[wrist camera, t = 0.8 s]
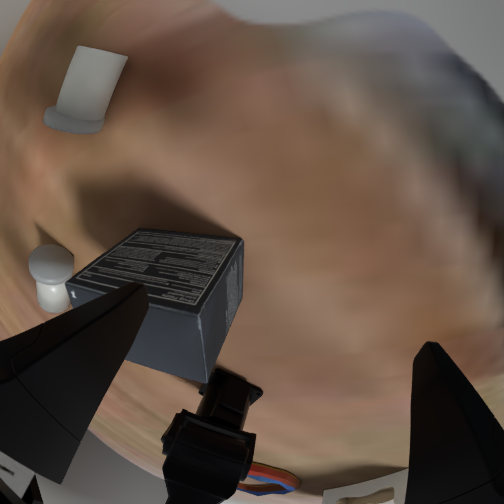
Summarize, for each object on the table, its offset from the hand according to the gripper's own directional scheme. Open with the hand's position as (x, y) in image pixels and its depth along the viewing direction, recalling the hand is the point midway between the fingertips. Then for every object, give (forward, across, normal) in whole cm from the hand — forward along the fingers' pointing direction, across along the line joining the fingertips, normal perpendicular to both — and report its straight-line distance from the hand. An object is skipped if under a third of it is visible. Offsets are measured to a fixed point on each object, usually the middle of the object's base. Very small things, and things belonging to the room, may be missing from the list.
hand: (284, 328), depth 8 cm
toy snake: (+8, +2, +63) cm, 64 cm away
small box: (+14, +10, +9) cm, 19 cm away
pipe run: (+14, +23, +3) cm, 27 cm away
